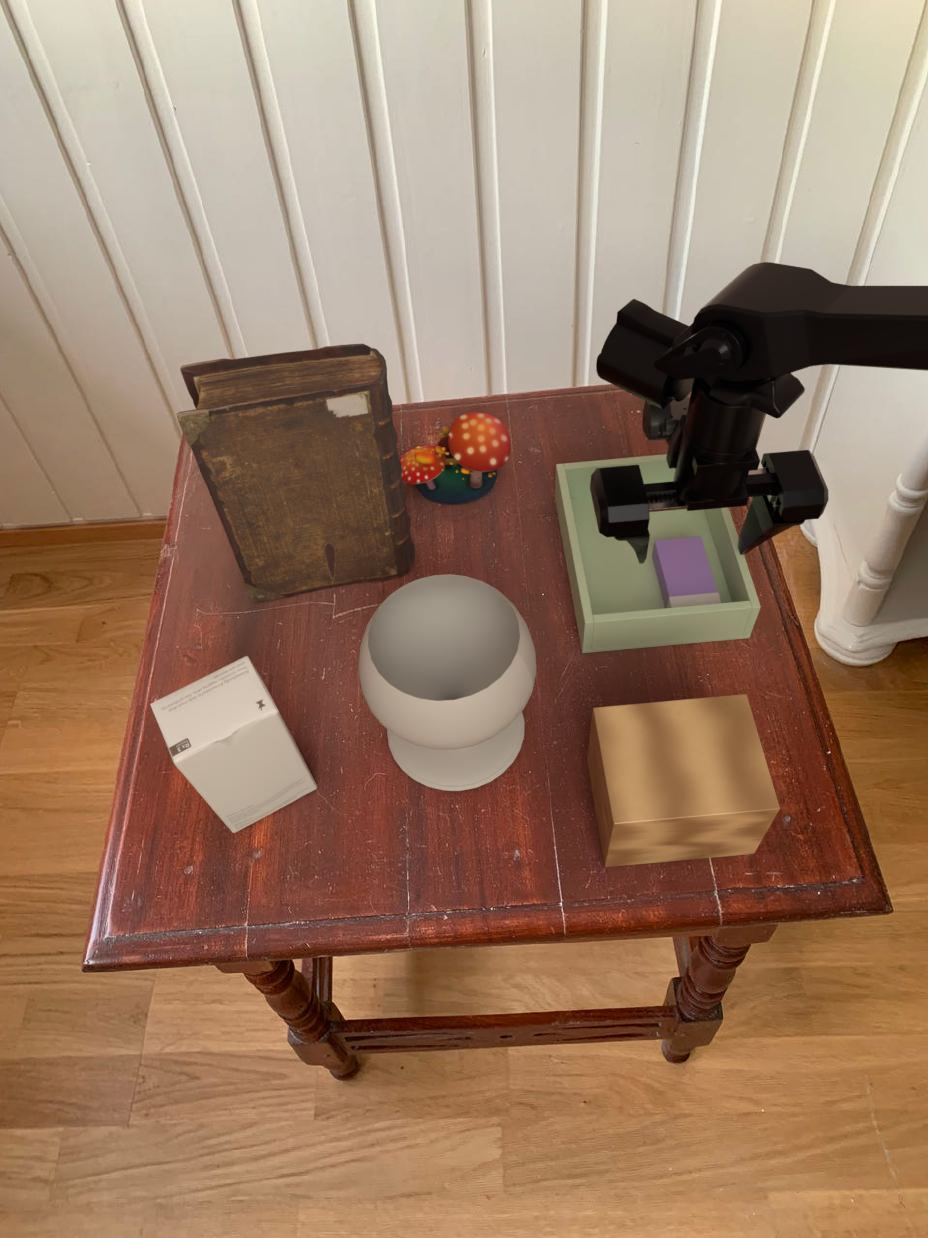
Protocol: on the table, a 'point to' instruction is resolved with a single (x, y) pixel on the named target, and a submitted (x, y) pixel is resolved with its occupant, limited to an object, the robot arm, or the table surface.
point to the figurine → (459, 460)
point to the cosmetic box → (233, 745)
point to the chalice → (449, 679)
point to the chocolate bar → (684, 572)
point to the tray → (647, 569)
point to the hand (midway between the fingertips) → (690, 555)
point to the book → (302, 467)
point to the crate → (679, 780)
